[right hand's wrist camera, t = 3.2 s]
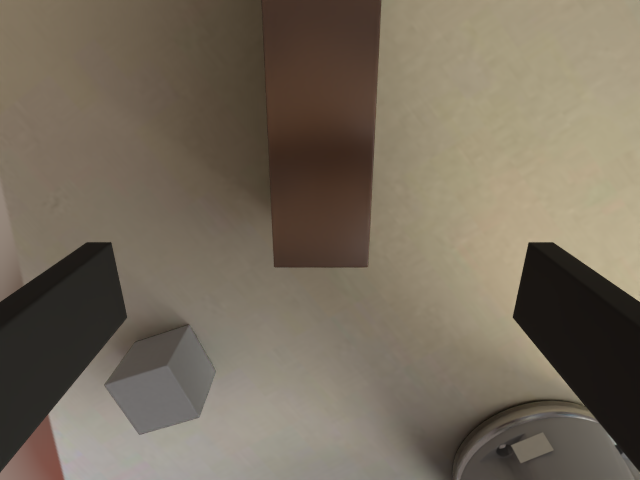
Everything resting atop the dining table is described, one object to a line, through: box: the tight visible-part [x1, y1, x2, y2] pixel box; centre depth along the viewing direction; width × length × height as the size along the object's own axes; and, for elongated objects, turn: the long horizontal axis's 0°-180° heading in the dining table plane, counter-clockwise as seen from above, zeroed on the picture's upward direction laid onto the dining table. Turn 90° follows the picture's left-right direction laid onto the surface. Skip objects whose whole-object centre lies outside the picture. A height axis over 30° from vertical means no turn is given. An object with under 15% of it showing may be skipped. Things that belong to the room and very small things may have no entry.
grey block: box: [104, 325, 216, 435], centre depth 30 cm, size 5×5×5 cm
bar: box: [262, 0, 381, 267], centre depth 20 cm, size 24×5×8 cm, turn 0°
